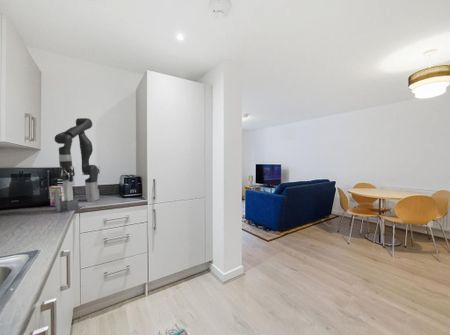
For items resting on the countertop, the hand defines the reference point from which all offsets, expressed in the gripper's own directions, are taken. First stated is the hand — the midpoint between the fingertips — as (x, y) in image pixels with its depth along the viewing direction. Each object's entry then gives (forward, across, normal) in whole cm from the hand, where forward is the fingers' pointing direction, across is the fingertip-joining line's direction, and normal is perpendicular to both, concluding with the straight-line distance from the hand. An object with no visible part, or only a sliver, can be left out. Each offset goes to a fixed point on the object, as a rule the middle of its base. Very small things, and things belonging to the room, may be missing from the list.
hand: (67, 181), depth 151 cm
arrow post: (+22, 0, +7) cm, 23 cm away
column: (+15, 0, 0) cm, 15 cm away
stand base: (+22, 0, 0) cm, 22 cm away
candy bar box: (+23, +22, -5) cm, 32 cm away
